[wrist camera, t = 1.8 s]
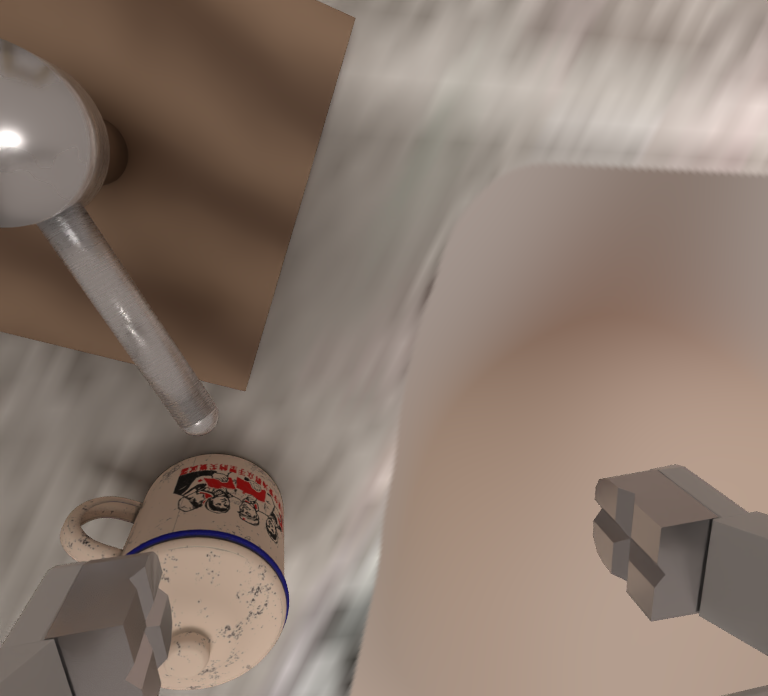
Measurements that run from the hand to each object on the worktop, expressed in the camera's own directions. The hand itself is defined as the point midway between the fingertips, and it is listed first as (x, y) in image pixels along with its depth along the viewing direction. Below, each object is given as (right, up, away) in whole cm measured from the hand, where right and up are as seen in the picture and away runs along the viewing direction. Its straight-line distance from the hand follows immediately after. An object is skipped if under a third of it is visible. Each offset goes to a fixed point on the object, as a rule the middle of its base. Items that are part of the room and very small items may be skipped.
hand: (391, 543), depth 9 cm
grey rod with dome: (-12, +9, +10) cm, 18 cm away
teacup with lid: (-12, -6, +25) cm, 29 cm away
